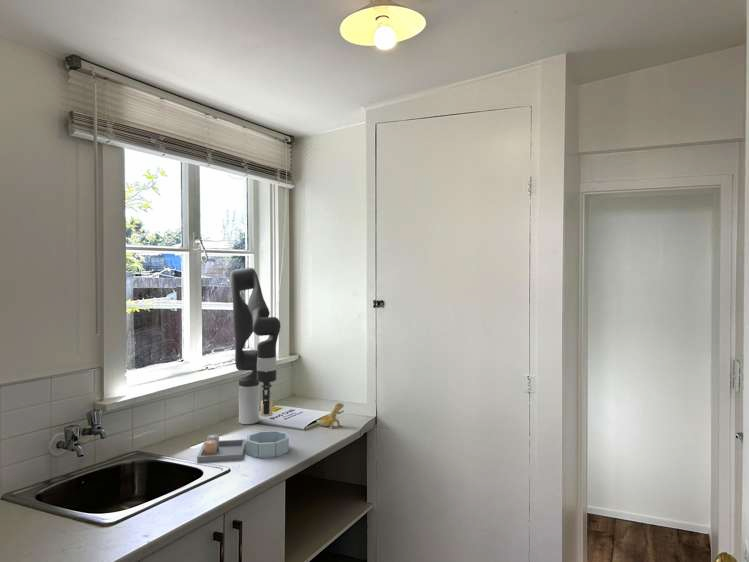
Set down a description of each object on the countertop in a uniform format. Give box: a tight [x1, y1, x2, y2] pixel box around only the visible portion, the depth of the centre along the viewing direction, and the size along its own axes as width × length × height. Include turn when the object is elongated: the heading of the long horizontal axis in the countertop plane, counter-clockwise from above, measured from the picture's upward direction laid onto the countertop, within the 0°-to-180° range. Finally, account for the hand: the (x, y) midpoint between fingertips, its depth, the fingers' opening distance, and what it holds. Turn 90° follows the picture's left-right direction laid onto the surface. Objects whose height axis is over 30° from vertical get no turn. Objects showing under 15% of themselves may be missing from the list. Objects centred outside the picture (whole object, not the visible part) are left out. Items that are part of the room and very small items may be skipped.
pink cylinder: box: [206, 434, 220, 451], centre depth 206 cm, size 4×4×6 cm
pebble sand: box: [260, 399, 274, 417], centre depth 205 cm, size 4×4×6 cm
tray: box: [196, 438, 247, 463], centre depth 203 cm, size 18×16×2 cm
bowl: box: [245, 429, 290, 459], centre depth 206 cm, size 16×16×6 cm
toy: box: [316, 402, 345, 430], centre depth 238 cm, size 7×15×10 cm, turn 75°
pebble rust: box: [203, 440, 217, 456], centre depth 199 cm, size 4×4×6 cm
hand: (266, 412), depth 205 cm, fingers closed on pebble sand, 4 cm apart
